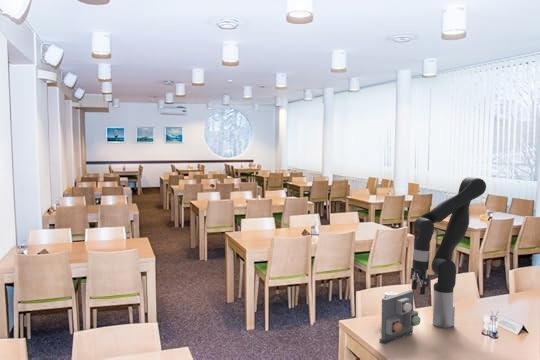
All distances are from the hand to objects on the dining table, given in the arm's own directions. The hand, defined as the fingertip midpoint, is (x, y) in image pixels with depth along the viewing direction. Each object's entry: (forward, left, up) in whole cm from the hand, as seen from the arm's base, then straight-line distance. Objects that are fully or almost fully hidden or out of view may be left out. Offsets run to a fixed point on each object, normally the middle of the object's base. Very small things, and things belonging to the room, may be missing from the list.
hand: (418, 291), depth 235 cm
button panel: (+15, +13, -17) cm, 26 cm away
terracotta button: (+19, +20, -11) cm, 30 cm away
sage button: (+7, +13, -11) cm, 18 cm away
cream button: (+13, +16, -4) cm, 21 cm away
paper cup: (+10, -9, -17) cm, 22 cm away
